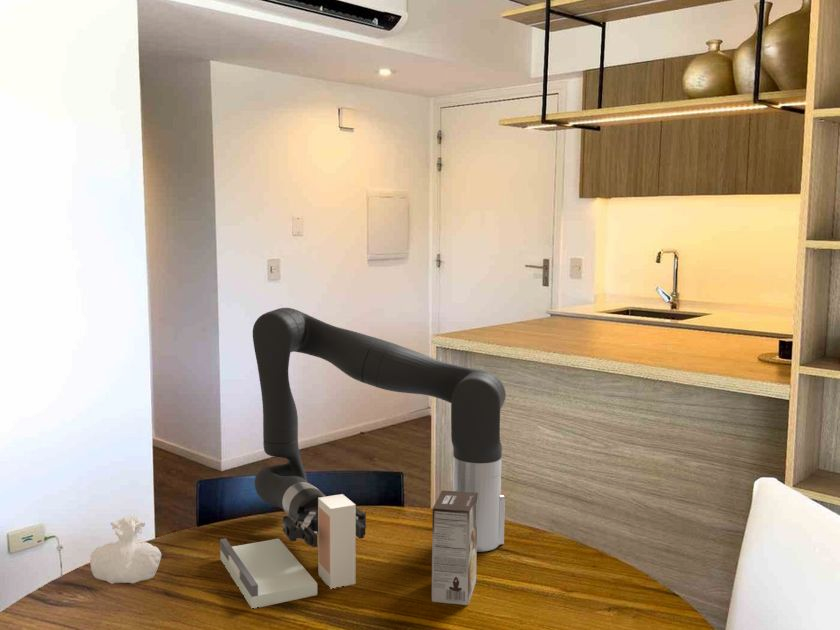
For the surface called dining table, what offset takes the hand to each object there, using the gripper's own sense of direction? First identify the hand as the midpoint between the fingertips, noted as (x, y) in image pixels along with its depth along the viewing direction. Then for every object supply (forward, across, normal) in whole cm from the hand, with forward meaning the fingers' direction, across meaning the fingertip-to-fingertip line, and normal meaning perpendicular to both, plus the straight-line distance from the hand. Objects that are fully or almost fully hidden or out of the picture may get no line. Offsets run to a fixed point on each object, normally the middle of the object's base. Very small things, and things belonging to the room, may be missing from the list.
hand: (339, 537), depth 134 cm
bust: (-18, -32, +8) cm, 38 cm away
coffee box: (+12, +16, +8) cm, 22 cm away
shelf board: (-8, -10, +8) cm, 15 cm away
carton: (-1, 0, +8) cm, 8 cm away
